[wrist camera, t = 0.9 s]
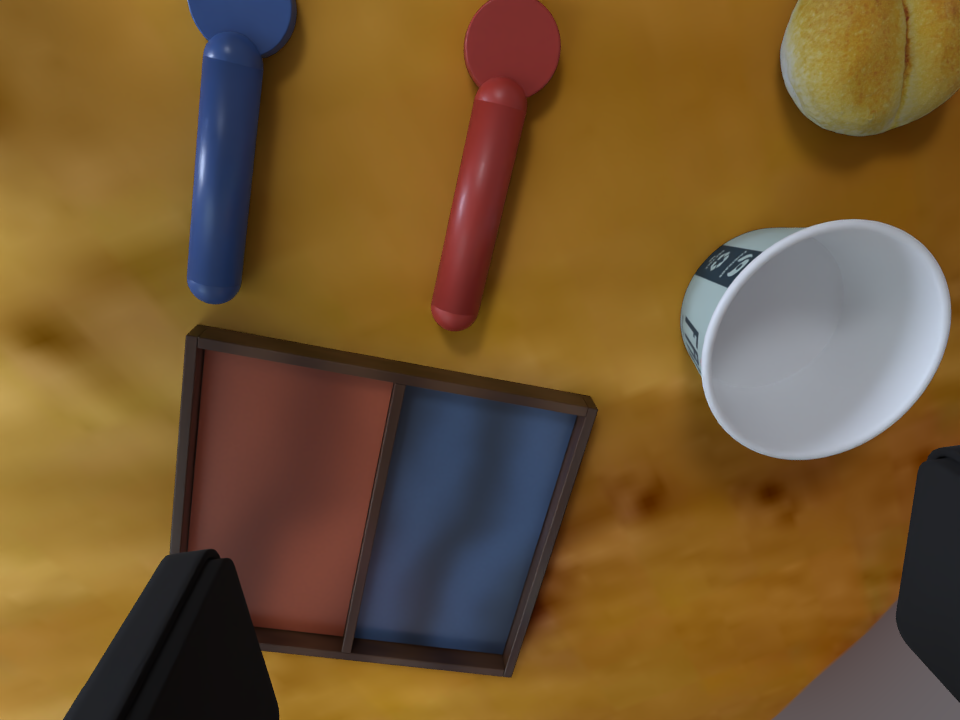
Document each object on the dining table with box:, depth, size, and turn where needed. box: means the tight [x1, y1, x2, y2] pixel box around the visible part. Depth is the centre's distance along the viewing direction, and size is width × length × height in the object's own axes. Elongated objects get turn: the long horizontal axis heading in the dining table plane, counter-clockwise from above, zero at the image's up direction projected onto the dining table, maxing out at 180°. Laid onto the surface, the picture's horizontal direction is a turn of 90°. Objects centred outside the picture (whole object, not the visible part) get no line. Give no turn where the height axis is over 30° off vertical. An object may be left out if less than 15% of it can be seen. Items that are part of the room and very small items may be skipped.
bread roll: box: [780, 0, 960, 136], centre depth 29 cm, size 8×9×4 cm
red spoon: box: [431, 0, 561, 331], centre depth 31 cm, size 16×4×2 cm, turn 167°
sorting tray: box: [170, 325, 598, 677], centre depth 38 cm, size 22×20×2 cm
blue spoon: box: [187, 0, 297, 304], centre depth 29 cm, size 16×4×2 cm, turn 167°
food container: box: [681, 219, 951, 460], centre depth 33 cm, size 12×12×6 cm
